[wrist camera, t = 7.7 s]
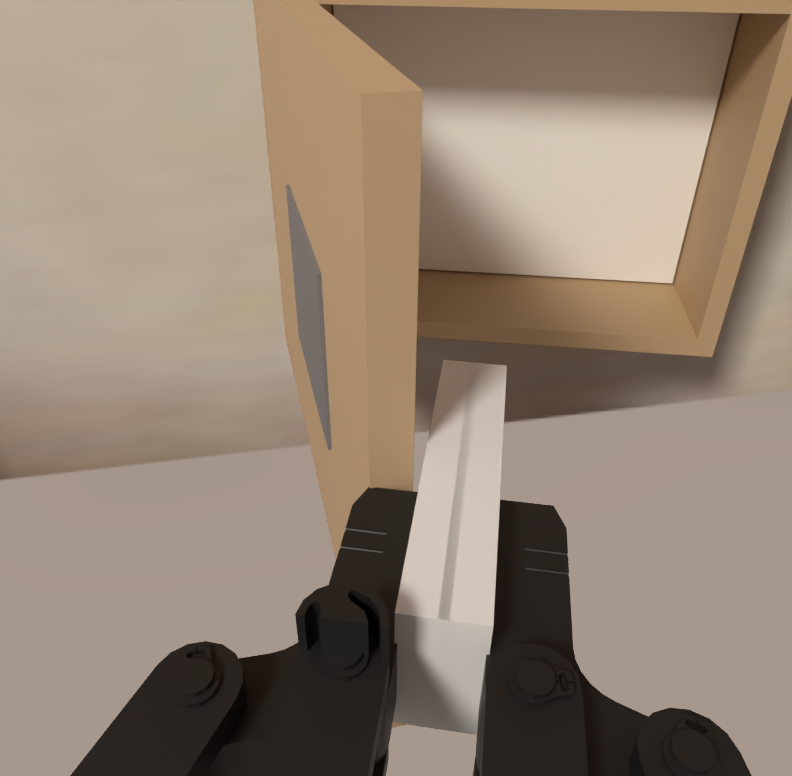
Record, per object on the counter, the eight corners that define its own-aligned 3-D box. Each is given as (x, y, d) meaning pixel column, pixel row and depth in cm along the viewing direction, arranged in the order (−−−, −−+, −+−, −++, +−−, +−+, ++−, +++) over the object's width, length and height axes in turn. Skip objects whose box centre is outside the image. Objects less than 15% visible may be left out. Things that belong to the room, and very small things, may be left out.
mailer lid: (303, 337, 33) (284, 339, 32) (274, -33, 24) (247, -33, 24) (407, 724, 17) (371, 732, 17) (422, 89, 9) (353, 94, 9)
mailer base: (330, 272, 37) (304, 329, 33) (314, -37, 29) (276, -23, 25) (683, 293, 36) (712, 356, 31) (768, -30, 28) (824, -14, 23)
